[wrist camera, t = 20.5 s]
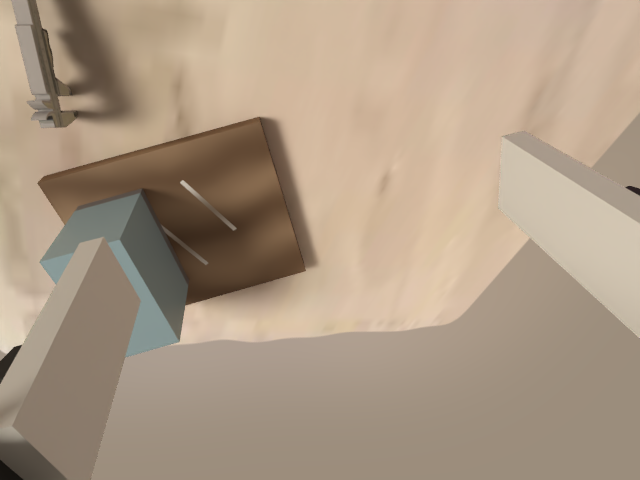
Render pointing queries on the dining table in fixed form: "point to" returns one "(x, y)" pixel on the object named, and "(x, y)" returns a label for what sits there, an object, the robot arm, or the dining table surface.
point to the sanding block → (131, 263)
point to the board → (201, 204)
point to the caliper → (40, 67)
